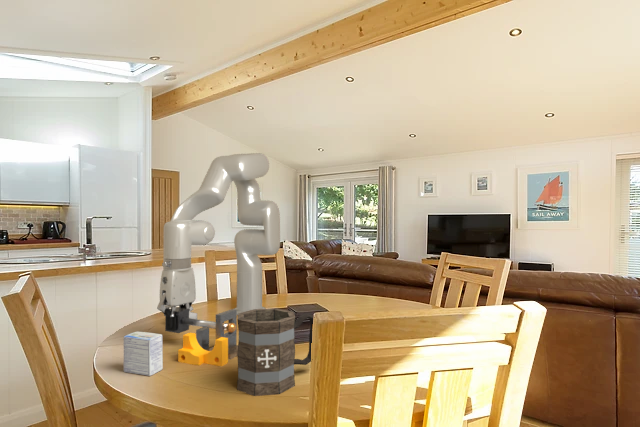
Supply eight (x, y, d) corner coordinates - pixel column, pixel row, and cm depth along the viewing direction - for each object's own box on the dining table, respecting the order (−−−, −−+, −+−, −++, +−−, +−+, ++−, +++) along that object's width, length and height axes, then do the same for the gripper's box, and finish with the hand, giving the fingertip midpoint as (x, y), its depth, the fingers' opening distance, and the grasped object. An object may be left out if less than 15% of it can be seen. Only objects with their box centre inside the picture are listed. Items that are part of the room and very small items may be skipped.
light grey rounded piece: (167, 317, 132) (167, 302, 145) (167, 332, 132) (167, 316, 146) (198, 314, 135) (195, 300, 149) (198, 329, 135) (195, 313, 149)
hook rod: (165, 331, 116) (165, 310, 116) (175, 327, 119) (175, 307, 119) (230, 341, 106) (230, 318, 106) (239, 337, 110) (239, 315, 110)
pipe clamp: (178, 362, 103) (178, 337, 103) (189, 357, 107) (189, 332, 107) (217, 369, 98) (217, 343, 98) (228, 363, 102) (228, 337, 102)
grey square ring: (191, 352, 110) (191, 311, 110) (208, 344, 116) (208, 306, 116) (230, 359, 104) (230, 316, 104) (246, 351, 111) (246, 310, 111)
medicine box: (163, 370, 97) (163, 333, 97) (149, 377, 93) (150, 339, 93) (137, 365, 100) (137, 330, 100) (122, 372, 96) (123, 335, 96)
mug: (249, 402, 81) (249, 326, 81) (226, 378, 92) (226, 312, 92) (331, 380, 91) (331, 314, 91) (301, 362, 103) (301, 303, 103)
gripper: (165, 268, 107) (165, 338, 107) (207, 261, 122) (206, 322, 122) (144, 267, 110) (144, 334, 110) (187, 260, 126) (187, 319, 125)
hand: (177, 327), depth 116 cm, fingers closed on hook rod, 4 cm apart
